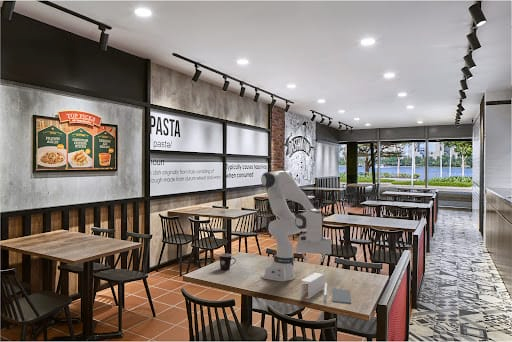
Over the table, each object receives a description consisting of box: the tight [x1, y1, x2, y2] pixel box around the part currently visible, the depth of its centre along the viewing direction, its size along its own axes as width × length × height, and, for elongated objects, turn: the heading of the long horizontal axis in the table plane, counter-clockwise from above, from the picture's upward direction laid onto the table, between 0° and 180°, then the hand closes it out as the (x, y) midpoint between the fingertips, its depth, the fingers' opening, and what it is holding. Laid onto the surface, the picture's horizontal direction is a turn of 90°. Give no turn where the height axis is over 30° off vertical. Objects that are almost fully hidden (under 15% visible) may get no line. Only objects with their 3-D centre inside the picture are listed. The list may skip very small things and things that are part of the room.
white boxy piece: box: [300, 272, 325, 300], centre depth 205 cm, size 20×6×9 cm, turn 144°
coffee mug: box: [218, 253, 237, 271], centre depth 247 cm, size 12×9×10 cm
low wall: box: [323, 282, 328, 302], centre depth 203 cm, size 1×20×4 cm, turn 167°
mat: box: [332, 288, 352, 304], centre depth 201 cm, size 10×20×1 cm, turn 167°
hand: (313, 260), depth 204 cm, fingers open, 8 cm apart
